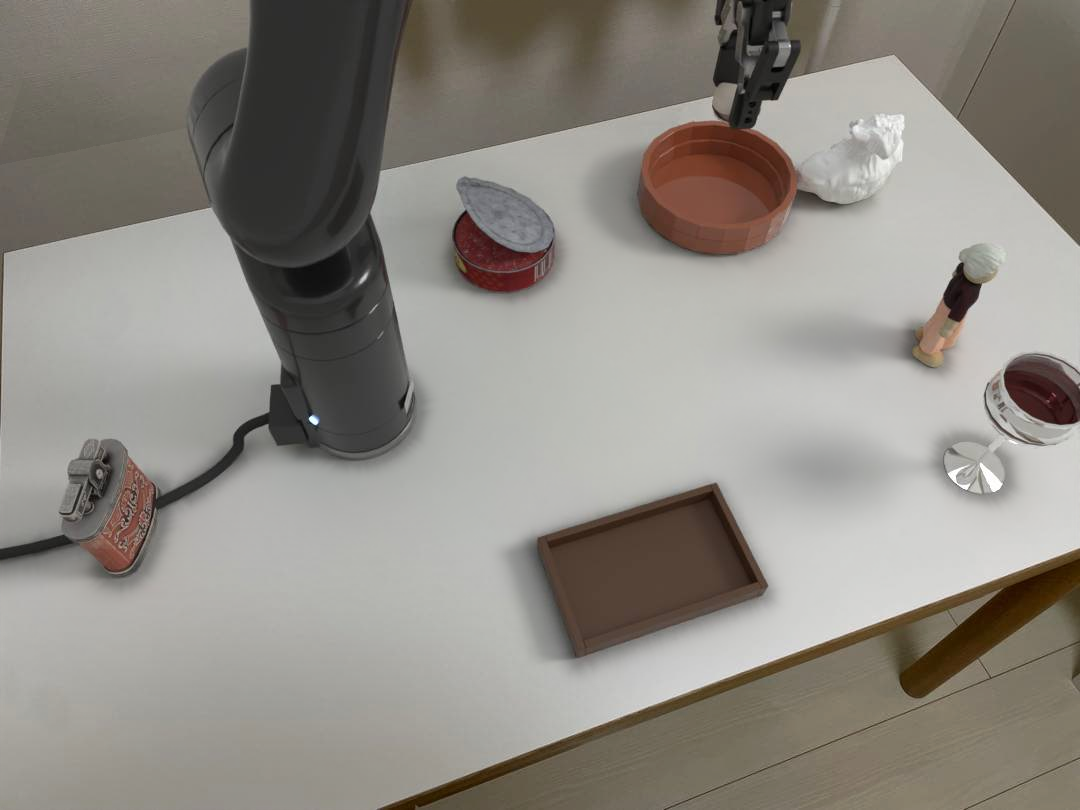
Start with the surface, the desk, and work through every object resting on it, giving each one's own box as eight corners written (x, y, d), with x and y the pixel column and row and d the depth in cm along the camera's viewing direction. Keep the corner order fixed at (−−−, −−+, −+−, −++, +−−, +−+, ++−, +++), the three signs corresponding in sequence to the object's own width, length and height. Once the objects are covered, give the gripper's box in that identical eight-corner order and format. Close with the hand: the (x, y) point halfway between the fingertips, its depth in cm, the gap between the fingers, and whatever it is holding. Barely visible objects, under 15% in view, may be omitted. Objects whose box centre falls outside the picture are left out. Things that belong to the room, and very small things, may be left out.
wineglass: (1013, 514, 69) (1097, 440, 59) (928, 488, 70) (996, 411, 60) (1018, 446, 72) (1098, 365, 62) (937, 422, 73) (1002, 339, 63)
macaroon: (721, 136, 72) (727, 111, 70) (696, 100, 75) (701, 75, 73) (765, 125, 73) (773, 101, 71) (739, 90, 76) (746, 66, 74)
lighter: (128, 483, 69) (72, 420, 61) (169, 484, 69) (119, 421, 61) (97, 577, 65) (33, 522, 57) (141, 578, 65) (83, 524, 57)
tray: (576, 658, 62) (578, 650, 60) (536, 547, 67) (537, 537, 65) (762, 595, 65) (768, 586, 63) (712, 493, 69) (716, 481, 68)
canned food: (477, 254, 89) (482, 159, 84) (566, 274, 87) (577, 177, 82) (426, 288, 80) (428, 183, 75) (524, 312, 77) (533, 204, 72)
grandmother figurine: (953, 379, 76) (1023, 287, 65) (909, 372, 76) (972, 279, 66) (948, 314, 80) (1013, 216, 69) (907, 307, 80) (965, 209, 70)
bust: (787, 221, 89) (850, 203, 78) (769, 150, 88) (830, 121, 77) (884, 193, 92) (958, 171, 81) (867, 123, 91) (940, 92, 80)
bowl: (652, 263, 83) (657, 234, 80) (625, 156, 91) (629, 125, 88) (804, 250, 84) (816, 222, 81) (765, 146, 92) (773, 115, 89)
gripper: (708, -147, 62) (673, 57, 77) (760, -40, 55) (709, 165, 69) (806, -151, 63) (753, 52, 77) (870, -45, 55) (798, 158, 70)
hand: (732, 104), depth 73 cm, fingers closed on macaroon, 5 cm apart
